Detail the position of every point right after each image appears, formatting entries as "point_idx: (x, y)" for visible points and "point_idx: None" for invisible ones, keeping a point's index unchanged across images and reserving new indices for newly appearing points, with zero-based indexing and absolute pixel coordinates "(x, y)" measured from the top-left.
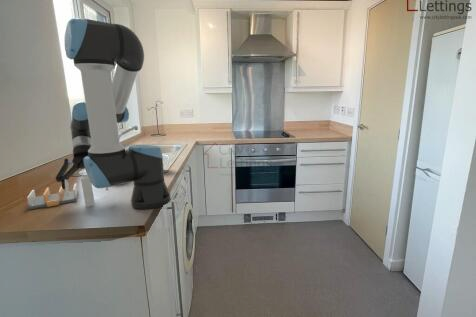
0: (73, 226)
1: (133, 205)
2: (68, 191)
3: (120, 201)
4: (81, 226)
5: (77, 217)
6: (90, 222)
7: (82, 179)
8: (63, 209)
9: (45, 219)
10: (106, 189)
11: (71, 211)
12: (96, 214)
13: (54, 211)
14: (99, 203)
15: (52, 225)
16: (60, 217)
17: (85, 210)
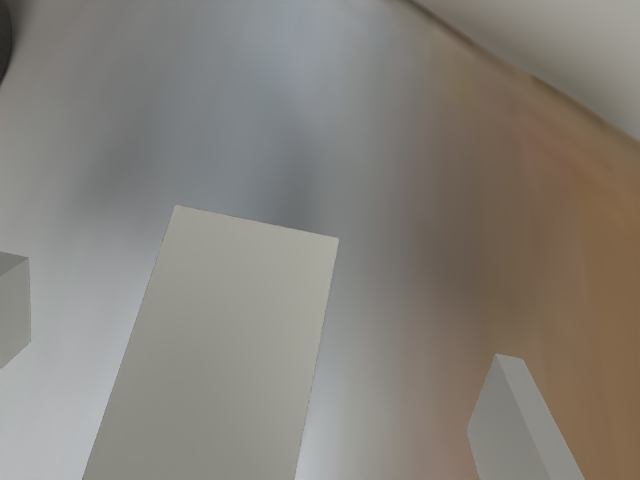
0: (425, 45)
1: (2, 25)
2: (492, 462)
3: None
4: (384, 15)
5: (392, 161)
6: (330, 29)
7: (308, 241)
8: None
9: (608, 292)
10: (23, 309)
11: (426, 325)
12: (268, 119)
13: None
14: None
15: (544, 145)
16: (505, 250)
17: None
